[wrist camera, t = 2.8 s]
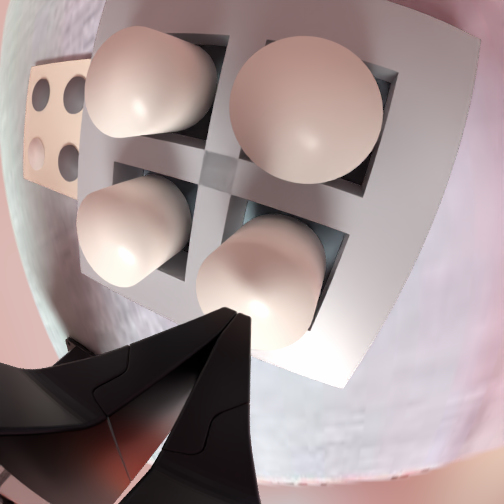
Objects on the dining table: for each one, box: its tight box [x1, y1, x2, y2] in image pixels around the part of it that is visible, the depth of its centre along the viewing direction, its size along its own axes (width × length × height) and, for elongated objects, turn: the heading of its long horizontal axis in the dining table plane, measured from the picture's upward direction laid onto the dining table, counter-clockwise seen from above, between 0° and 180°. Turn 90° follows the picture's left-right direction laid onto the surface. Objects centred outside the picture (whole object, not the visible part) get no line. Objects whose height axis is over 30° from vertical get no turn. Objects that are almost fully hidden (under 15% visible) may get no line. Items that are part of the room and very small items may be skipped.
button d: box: [85, 26, 218, 138], centre depth 10 cm, size 4×4×3 cm
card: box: [23, 59, 91, 200], centre depth 16 cm, size 9×9×1 cm
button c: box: [229, 36, 383, 184], centre depth 8 cm, size 4×4×3 cm
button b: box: [76, 174, 192, 287], centre depth 12 cm, size 4×4×3 cm
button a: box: [196, 214, 326, 350], centre depth 11 cm, size 4×4×3 cm
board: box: [77, 0, 481, 389], centre depth 12 cm, size 16×16×2 cm
